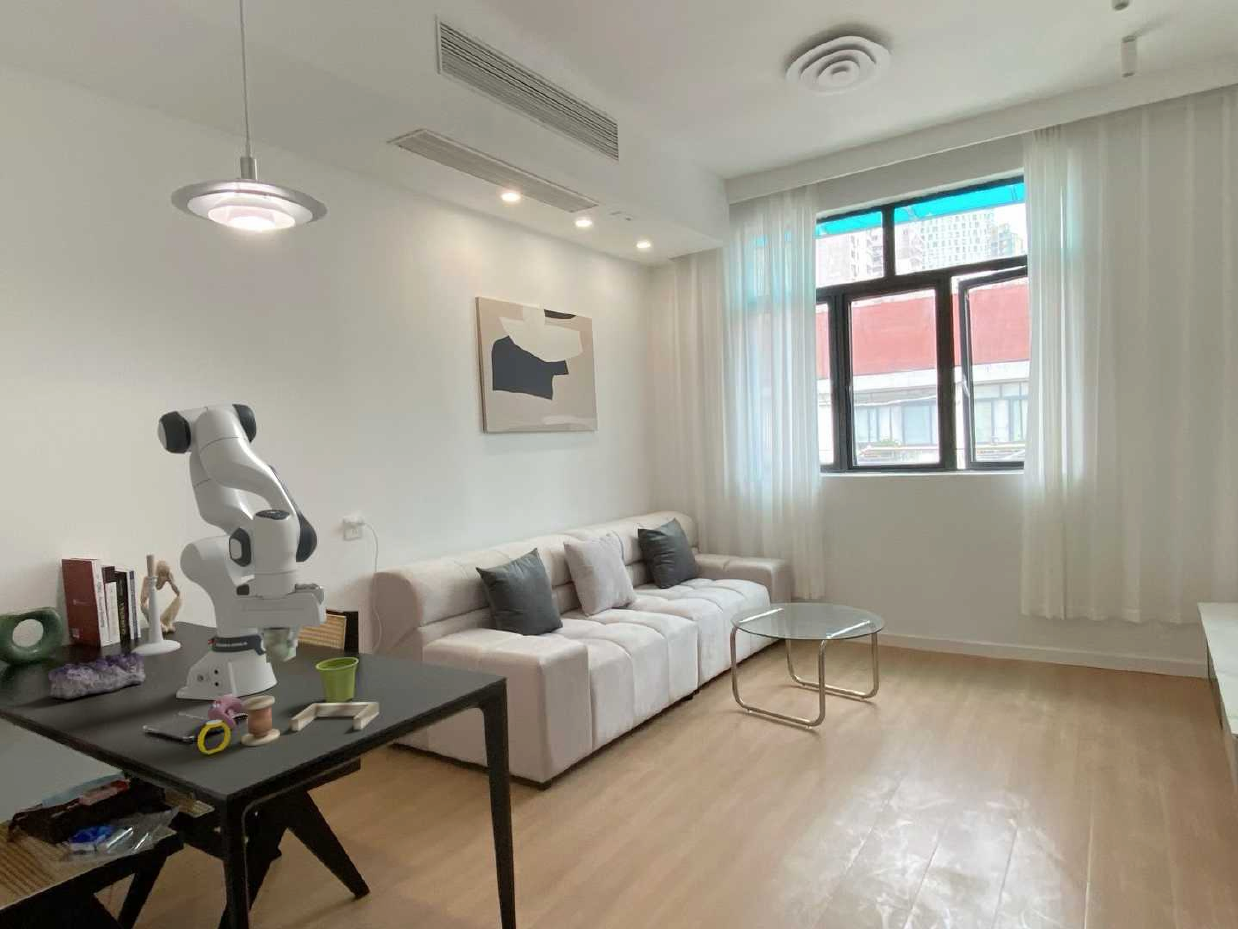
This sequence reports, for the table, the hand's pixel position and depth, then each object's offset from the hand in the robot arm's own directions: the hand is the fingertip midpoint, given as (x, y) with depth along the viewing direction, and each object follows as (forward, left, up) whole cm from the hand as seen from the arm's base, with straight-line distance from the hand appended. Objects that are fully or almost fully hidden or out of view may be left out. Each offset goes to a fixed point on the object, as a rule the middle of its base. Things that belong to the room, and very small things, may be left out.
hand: (280, 647), depth 163 cm
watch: (-5, -17, -16) cm, 24 cm away
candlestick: (-74, +61, -16) cm, 98 cm away
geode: (-62, +24, -16) cm, 68 cm away
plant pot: (+7, +12, -16) cm, 22 cm away
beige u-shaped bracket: (+13, -3, -16) cm, 21 cm away
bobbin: (+1, -11, -16) cm, 19 cm away
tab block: (0, 0, -3) cm, 3 cm away
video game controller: (-12, -1, -16) cm, 20 cm away
